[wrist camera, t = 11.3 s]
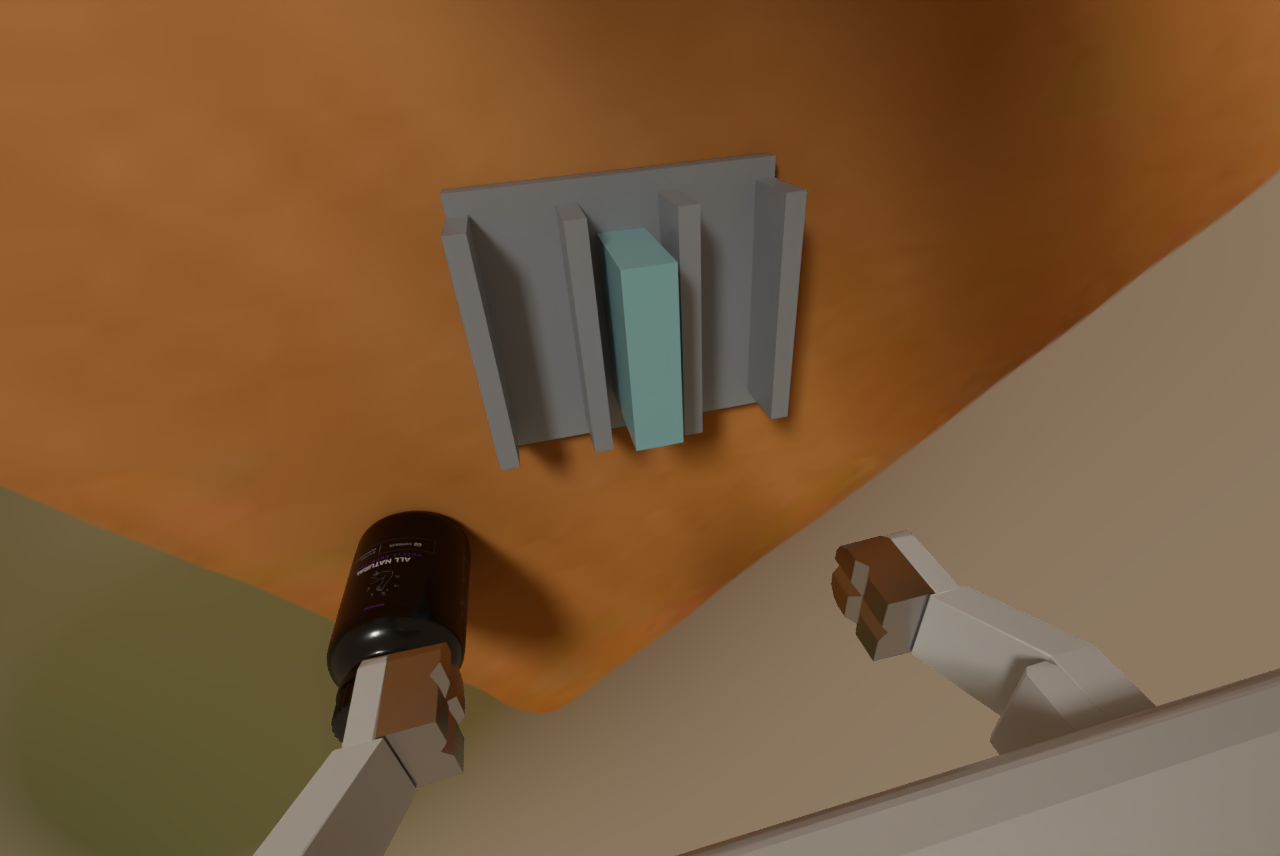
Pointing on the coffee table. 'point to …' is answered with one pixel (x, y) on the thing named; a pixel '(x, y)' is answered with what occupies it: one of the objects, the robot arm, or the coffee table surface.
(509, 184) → the rack
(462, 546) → the supplement bottle
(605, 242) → the teal upright panel
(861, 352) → the coffee table surface
